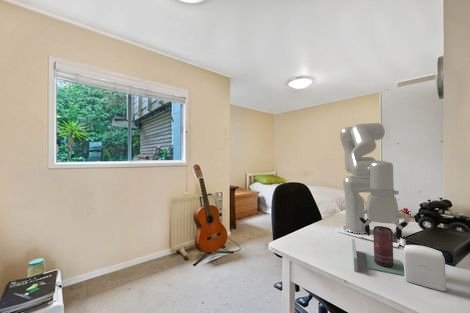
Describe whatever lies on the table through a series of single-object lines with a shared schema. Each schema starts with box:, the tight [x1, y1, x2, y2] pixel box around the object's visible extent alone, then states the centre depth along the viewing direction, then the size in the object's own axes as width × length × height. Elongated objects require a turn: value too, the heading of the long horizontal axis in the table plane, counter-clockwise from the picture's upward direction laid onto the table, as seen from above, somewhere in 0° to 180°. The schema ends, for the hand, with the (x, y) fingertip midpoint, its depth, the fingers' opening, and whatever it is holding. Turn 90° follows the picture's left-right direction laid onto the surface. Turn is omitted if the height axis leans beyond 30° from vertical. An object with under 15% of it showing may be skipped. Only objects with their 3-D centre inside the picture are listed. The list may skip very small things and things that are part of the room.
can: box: [372, 225, 394, 268], centre depth 80 cm, size 6×6×14 cm
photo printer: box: [402, 244, 447, 292], centre depth 68 cm, size 10×4×12 cm, turn 49°
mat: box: [364, 254, 404, 277], centre depth 81 cm, size 12×12×1 cm
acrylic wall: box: [351, 238, 359, 273], centre depth 85 cm, size 20×1×5 cm, turn 152°
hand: (382, 236), depth 81 cm, fingers open, 9 cm apart
